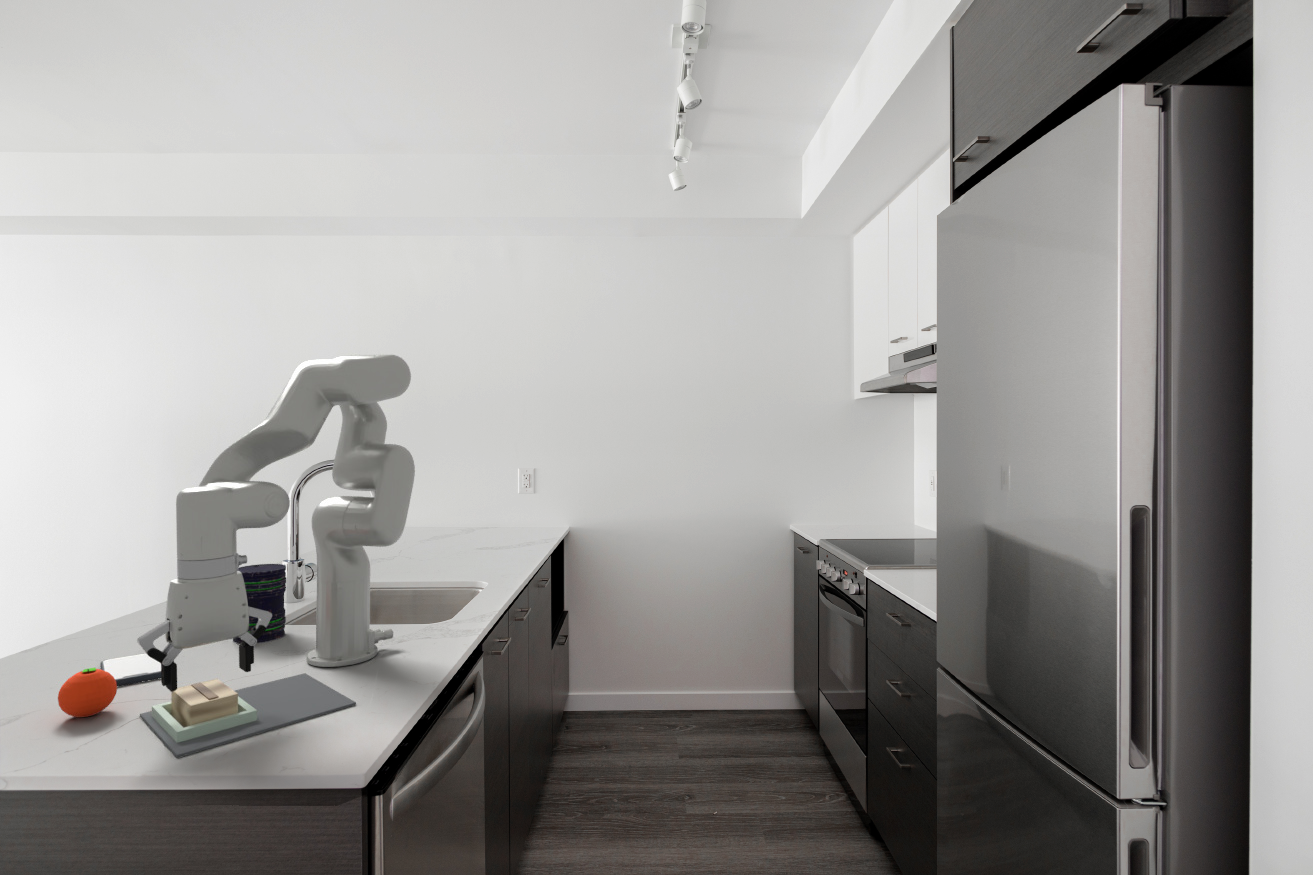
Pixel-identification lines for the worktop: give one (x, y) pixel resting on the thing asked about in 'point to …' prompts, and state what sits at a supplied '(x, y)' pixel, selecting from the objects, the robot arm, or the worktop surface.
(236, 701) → the wooden block
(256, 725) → the rubber mat
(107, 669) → the smartphone
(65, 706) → the clementine
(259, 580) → the storage jar
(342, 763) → the worktop surface
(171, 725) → the tray frame
